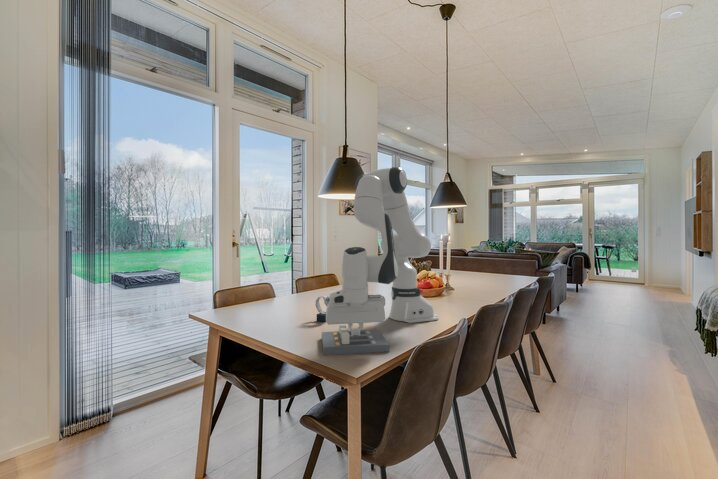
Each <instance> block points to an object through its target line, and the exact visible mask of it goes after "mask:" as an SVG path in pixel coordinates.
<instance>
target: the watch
mask: <svg viewBox="0 0 718 479" xmlns="http://www.w3.org/2000/svg"><path fill="white" fill-rule="evenodd" d="M321 298H323V301H324V305H325V306H326V307H327V305H328V303H329V302H330V299H329V296H327V295H321V296H318V297H317V298H316V300H315V307H316V310H317V312H318V313H317V314H316V322H319V323H324V324H325V323H327V322H326V311H323V310H322V308H321V305H320V299H321Z"/></svg>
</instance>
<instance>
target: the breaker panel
mask: <svg viewBox="0 0 718 479" xmlns="http://www.w3.org/2000/svg"><path fill="white" fill-rule="evenodd" d="M348 332H349V344H342V339H341V338H340V334H339V330H338V331H322V332H321V342H322V343H321V344H322V351H323V356H331V355H333V356H334V355H353V354H370V353H371V352H376V353H385V352H384V351H389V352H390V344H389V342H388V341H387V339H386V338H385V336H384V335H383V333H382V331H381V330H380V329H368V330H363V329H361V331H360V336H351V330H348ZM371 354H372V353H371Z"/></svg>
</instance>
